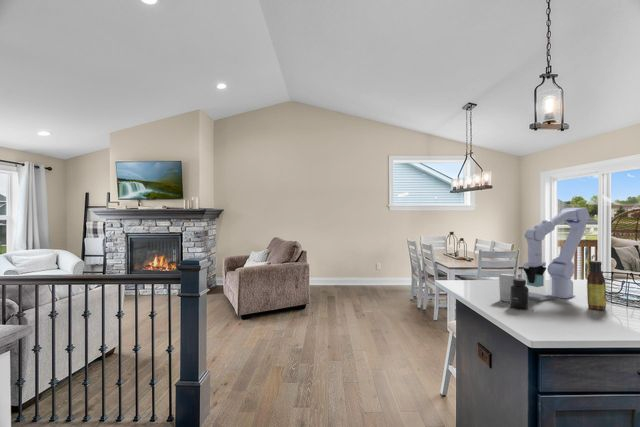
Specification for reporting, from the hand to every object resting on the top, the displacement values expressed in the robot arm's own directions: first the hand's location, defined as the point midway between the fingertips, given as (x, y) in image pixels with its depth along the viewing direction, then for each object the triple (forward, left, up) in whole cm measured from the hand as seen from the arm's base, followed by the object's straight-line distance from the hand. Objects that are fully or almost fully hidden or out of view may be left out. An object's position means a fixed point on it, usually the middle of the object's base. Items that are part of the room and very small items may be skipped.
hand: (534, 282), depth 173 cm
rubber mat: (0, 0, -7) cm, 7 cm away
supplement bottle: (+23, +7, -8) cm, 25 cm away
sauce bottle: (-3, +24, -8) cm, 25 cm away
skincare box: (+16, -3, -8) cm, 18 cm away
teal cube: (0, 0, -2) cm, 2 cm away
